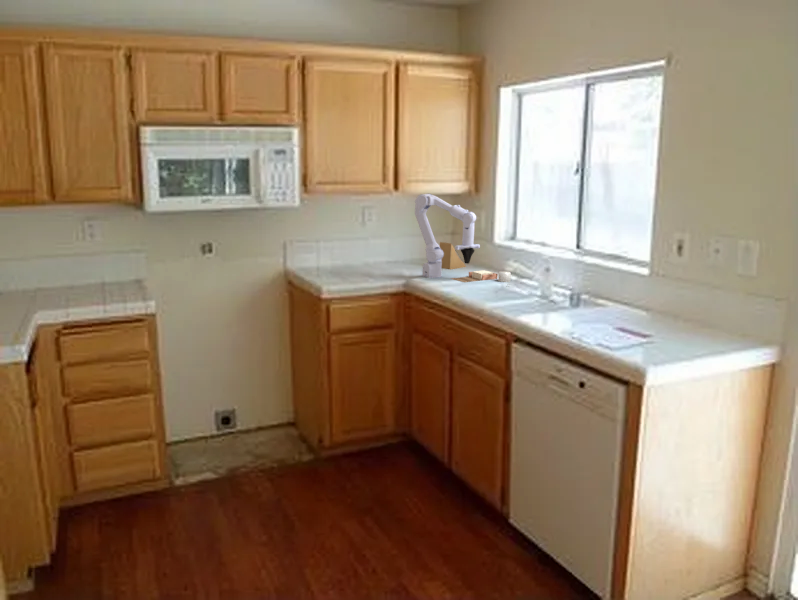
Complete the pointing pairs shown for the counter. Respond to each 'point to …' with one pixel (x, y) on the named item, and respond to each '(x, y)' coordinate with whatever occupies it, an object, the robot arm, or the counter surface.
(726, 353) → the counter surface
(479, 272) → the carton
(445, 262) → the sandwich container
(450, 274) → the counter surface
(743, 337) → the counter surface
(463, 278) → the open-sided wooden box
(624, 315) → the counter surface
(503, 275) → the grey rounded piece
